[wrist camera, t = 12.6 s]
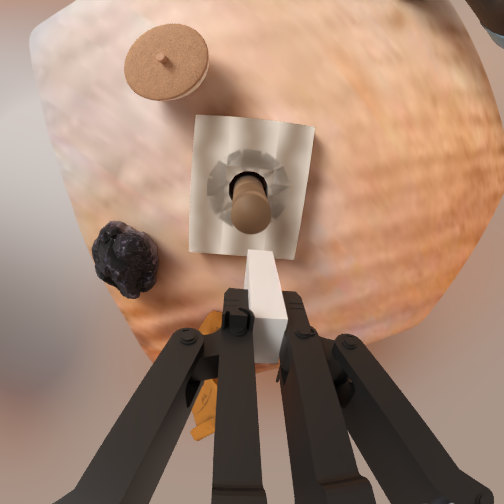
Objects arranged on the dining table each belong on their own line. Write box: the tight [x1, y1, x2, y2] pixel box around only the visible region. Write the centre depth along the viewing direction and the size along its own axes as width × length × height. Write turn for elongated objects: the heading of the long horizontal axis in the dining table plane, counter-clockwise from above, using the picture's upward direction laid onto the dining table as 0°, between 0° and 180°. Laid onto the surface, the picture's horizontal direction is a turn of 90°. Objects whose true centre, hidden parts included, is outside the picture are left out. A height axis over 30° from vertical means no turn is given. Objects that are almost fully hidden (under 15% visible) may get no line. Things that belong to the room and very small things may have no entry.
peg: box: [231, 173, 271, 235], centre depth 35 cm, size 4×4×15 cm
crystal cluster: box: [92, 221, 159, 299], centre depth 42 cm, size 13×14×10 cm
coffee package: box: [191, 311, 222, 441], centre depth 43 cm, size 10×12×22 cm
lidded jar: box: [124, 24, 209, 101], centre depth 29 cm, size 11×11×9 cm
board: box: [189, 115, 315, 260], centre depth 40 cm, size 16×20×4 cm
